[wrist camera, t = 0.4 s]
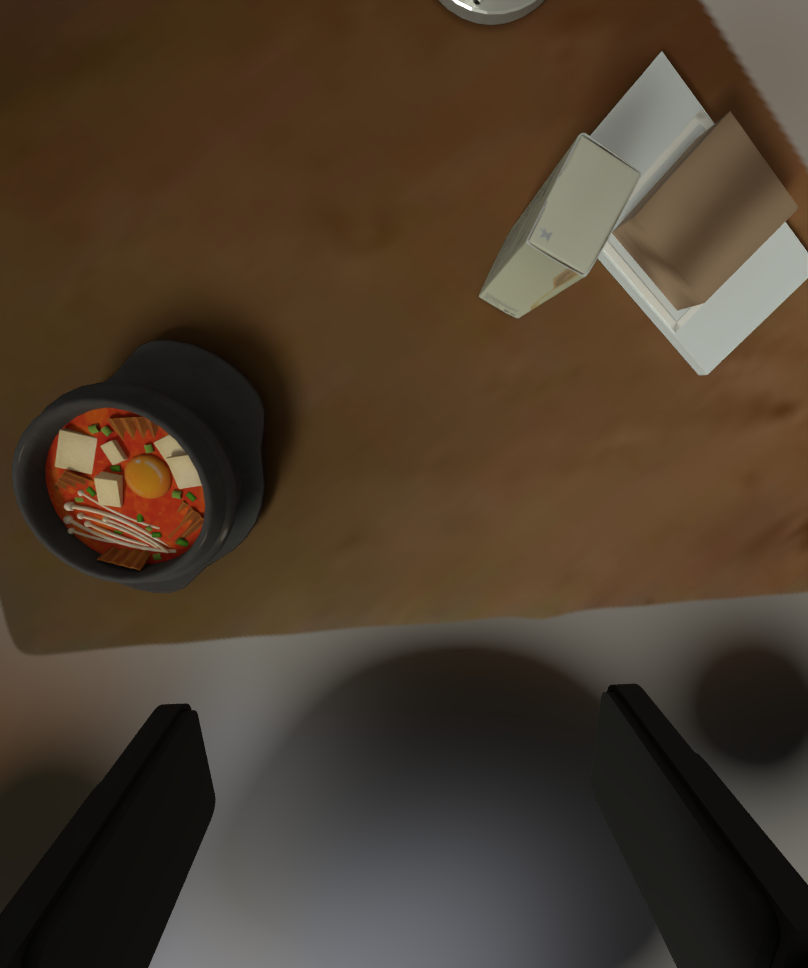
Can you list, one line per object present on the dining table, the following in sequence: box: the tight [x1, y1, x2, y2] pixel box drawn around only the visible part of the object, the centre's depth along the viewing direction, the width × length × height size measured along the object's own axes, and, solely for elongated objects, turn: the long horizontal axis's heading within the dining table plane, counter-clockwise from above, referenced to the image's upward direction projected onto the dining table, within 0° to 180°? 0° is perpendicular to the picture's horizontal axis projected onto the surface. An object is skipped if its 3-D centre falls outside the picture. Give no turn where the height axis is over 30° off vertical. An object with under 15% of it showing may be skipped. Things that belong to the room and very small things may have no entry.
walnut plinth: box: [612, 111, 799, 311], centre depth 30 cm, size 9×9×3 cm
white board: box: [590, 52, 808, 375], centre depth 32 cm, size 22×12×1 cm, turn 48°
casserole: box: [12, 340, 265, 593], centre depth 33 cm, size 25×19×8 cm
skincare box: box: [479, 133, 641, 318], centre depth 27 cm, size 6×4×12 cm
